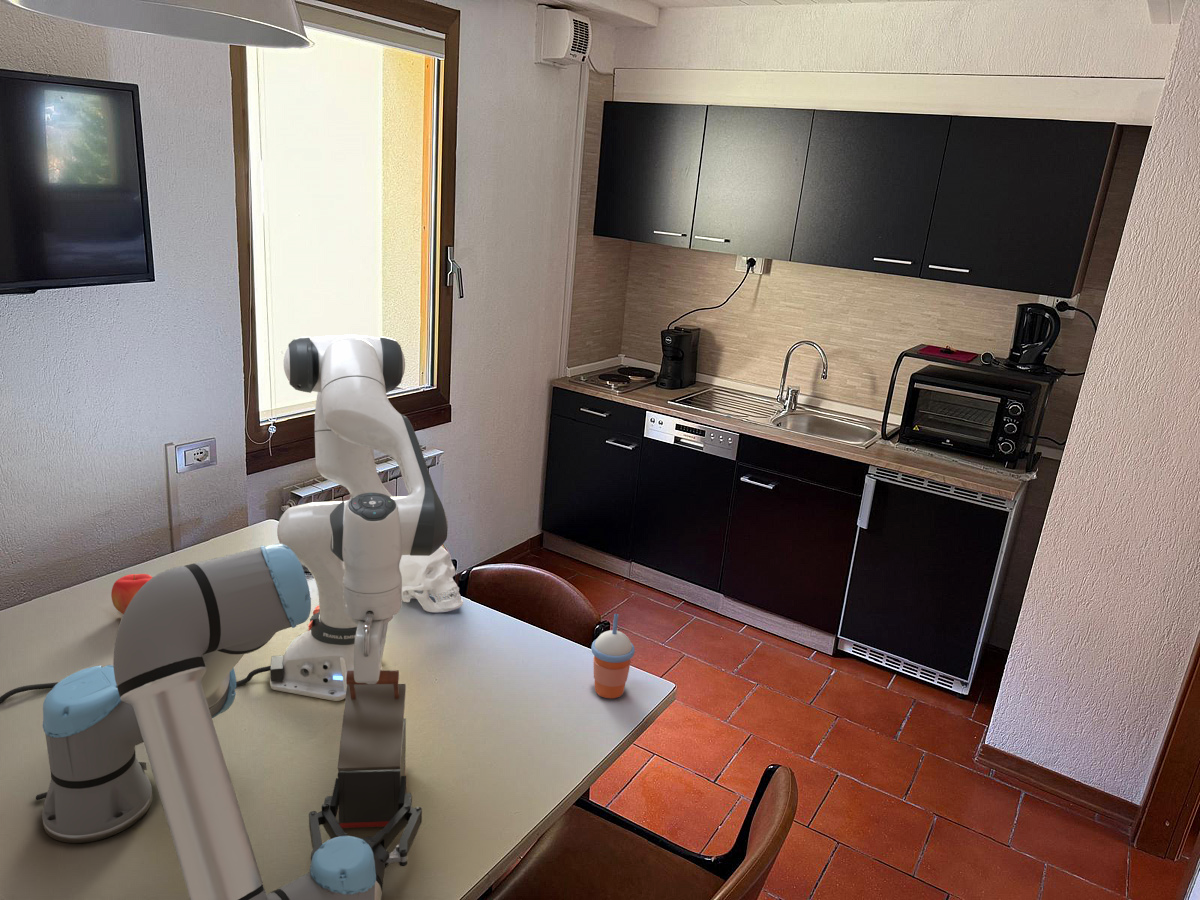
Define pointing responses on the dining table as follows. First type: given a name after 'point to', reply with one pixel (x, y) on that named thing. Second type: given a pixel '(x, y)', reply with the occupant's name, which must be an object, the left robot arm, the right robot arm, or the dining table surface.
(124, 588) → the apple
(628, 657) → the cup with straw
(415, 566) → the skull
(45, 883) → the dining table surface
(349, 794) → the chest
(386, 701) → the lid
